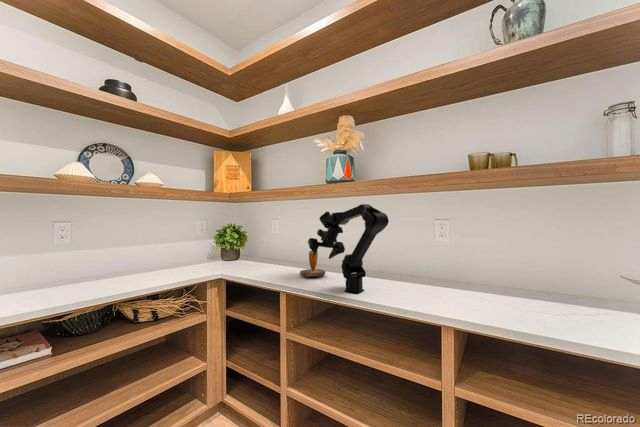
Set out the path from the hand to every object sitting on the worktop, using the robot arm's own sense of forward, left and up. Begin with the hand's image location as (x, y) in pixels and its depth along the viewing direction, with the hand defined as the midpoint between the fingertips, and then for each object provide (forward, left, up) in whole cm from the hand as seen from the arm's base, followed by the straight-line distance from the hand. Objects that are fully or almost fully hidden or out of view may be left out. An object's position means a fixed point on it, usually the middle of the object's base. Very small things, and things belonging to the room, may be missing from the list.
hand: (321, 257), depth 139 cm
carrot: (+8, -4, -9) cm, 13 cm away
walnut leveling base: (+8, -4, -11) cm, 15 cm away
